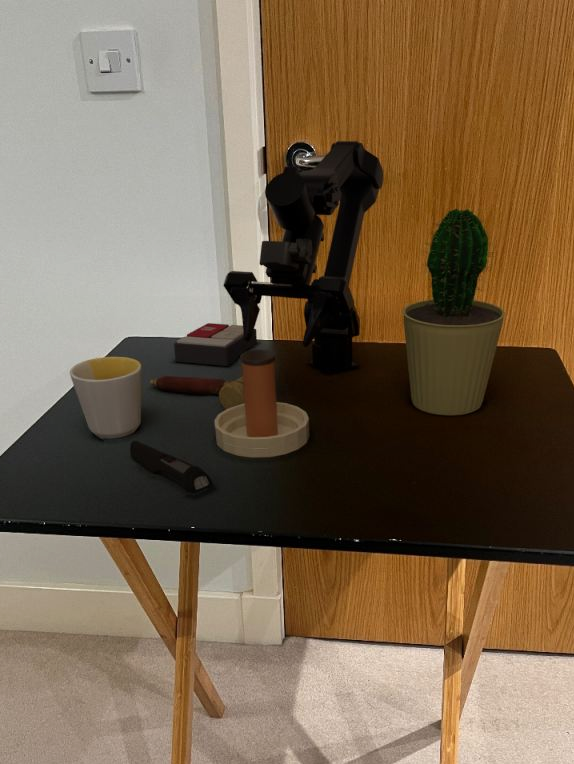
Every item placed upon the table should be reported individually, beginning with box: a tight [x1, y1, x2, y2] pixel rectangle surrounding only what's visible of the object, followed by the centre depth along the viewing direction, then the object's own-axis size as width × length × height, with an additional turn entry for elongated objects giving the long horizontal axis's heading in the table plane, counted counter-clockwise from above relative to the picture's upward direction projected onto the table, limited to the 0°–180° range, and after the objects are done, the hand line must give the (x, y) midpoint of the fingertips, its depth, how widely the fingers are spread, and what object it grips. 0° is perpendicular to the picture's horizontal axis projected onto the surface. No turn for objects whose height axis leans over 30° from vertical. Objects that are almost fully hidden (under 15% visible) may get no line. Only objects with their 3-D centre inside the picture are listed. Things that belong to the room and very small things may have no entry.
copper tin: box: [240, 349, 278, 437], centre depth 109 cm, size 5×5×12 cm
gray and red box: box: [173, 322, 258, 367], centre depth 147 cm, size 11×4×15 cm
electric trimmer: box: [129, 440, 214, 495], centre depth 103 cm, size 4×16×3 cm, turn 45°
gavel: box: [149, 374, 245, 410], centre depth 128 cm, size 21×5×10 cm
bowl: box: [213, 401, 310, 459], centre depth 111 cm, size 14×14×4 cm
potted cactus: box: [401, 204, 506, 416], centre depth 116 cm, size 15×15×30 cm
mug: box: [69, 356, 143, 440], centre depth 115 cm, size 14×10×10 cm
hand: (275, 343), depth 111 cm, fingers open, 9 cm apart
